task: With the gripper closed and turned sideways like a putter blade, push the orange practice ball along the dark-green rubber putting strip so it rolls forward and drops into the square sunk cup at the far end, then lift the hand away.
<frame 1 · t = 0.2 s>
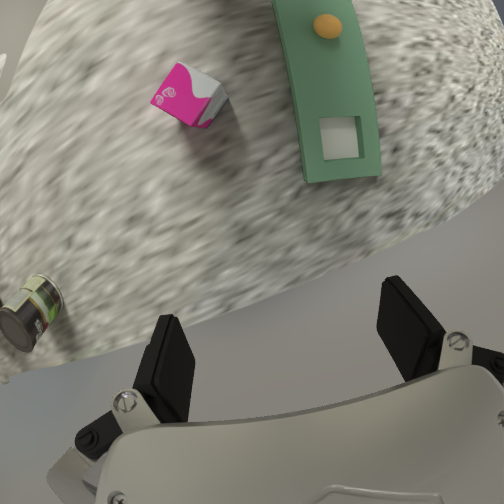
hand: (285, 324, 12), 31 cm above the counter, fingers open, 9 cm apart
coffee can: (46, 293, 46), on the counter
supplement box: (200, 103, 34), on the counter
green: (328, 81, 33), on the counter
ball: (327, 26, 25), point 4 cm above the counter, touching green
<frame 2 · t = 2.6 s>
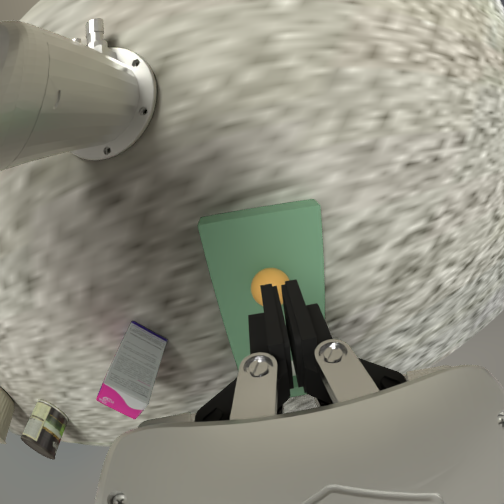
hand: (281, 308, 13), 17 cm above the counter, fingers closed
coffee can: (52, 410, 48), on the counter
supplement box: (143, 339, 36), on the counter
canister: (1, 391, 48), on the counter
green: (274, 320, 34), on the counter
ball: (270, 287, 27), point 4 cm above the counter, touching green
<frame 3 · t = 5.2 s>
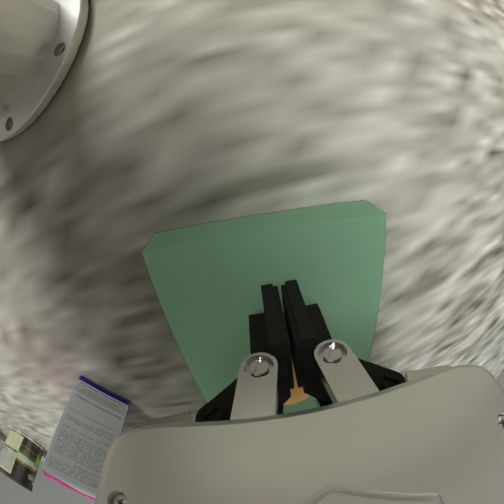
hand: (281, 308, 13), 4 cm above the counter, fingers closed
coffee can: (27, 438, 34), on the counter
supplement box: (100, 396, 22), on the counter
green: (285, 386, 21), on the counter
ball: (286, 368, 13), point 5 cm above the counter, touching gripper
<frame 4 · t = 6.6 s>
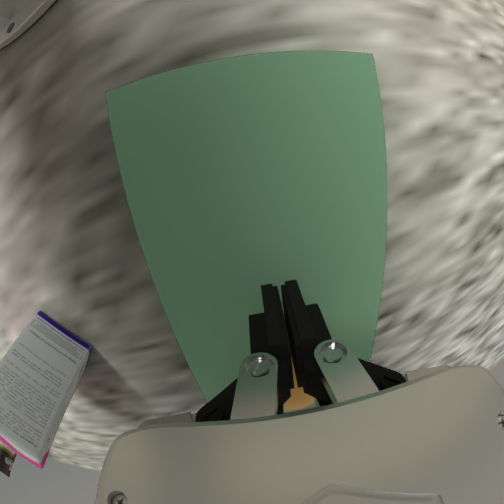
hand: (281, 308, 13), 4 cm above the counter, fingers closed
coffee can: (7, 419, 31), on the counter
supplement box: (61, 343, 19), on the counter
green: (277, 318, 18), on the counter
ball: (291, 375, 14), point 4 cm above the counter, tilted 116°, touching green
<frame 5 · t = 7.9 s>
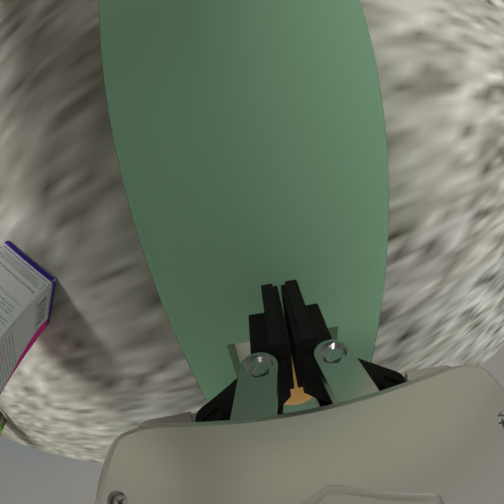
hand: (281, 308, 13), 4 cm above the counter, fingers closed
supplement box: (28, 282, 16), on the counter
green: (265, 226, 15), on the counter
ball: (292, 377, 17), point 2 cm above the counter, tilted 179°, touching green
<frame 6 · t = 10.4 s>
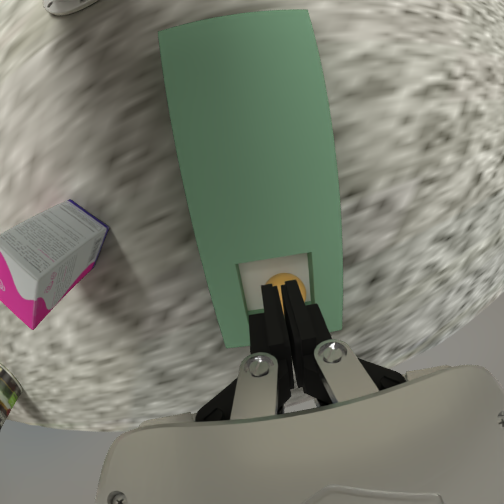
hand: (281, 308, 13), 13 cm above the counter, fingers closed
coffee can: (7, 376, 36), on the counter
supplement box: (81, 233, 24), on the counter
green: (261, 185, 23), on the counter
ball: (284, 294, 24), point 2 cm above the counter, tilted 165°, touching green
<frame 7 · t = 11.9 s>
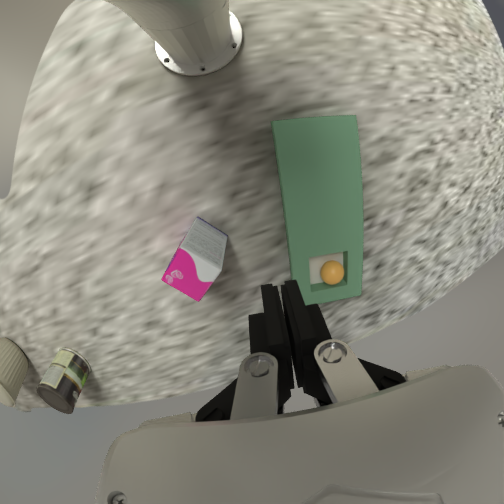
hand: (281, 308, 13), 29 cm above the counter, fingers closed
coffee can: (74, 360, 55), on the counter
supplement box: (202, 239, 42), on the counter
canister: (15, 350, 54), on the counter
green: (322, 214, 41), on the counter
ball: (332, 272, 43), point 2 cm above the counter, tilted 156°, touching green
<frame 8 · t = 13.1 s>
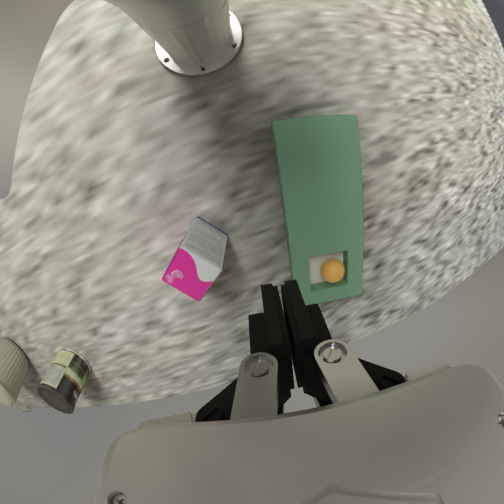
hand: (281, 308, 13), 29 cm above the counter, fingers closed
coffee can: (74, 360, 55), on the counter
supplement box: (203, 239, 42), on the counter
canister: (15, 350, 55), on the counter
green: (322, 213, 41), on the counter
ball: (332, 270, 43), point 2 cm above the counter, tilted 148°, touching green
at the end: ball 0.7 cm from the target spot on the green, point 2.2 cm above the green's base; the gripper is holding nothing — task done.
